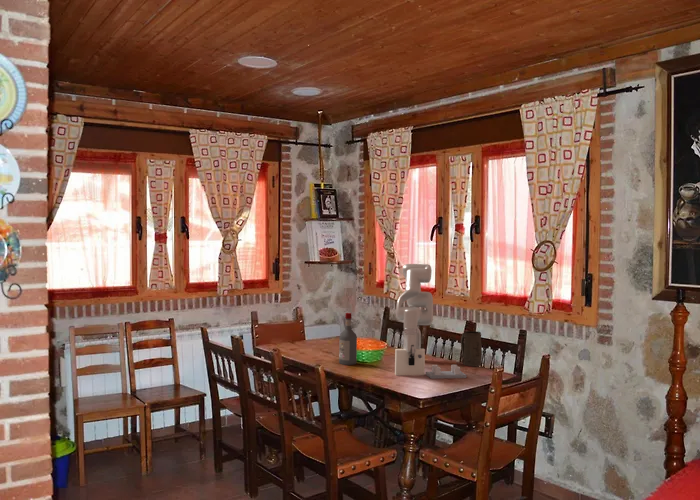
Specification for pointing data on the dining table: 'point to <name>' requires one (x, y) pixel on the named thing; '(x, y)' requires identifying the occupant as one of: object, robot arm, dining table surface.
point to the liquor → (348, 344)
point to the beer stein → (471, 348)
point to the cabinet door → (403, 362)
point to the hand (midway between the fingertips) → (409, 363)
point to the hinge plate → (446, 372)
